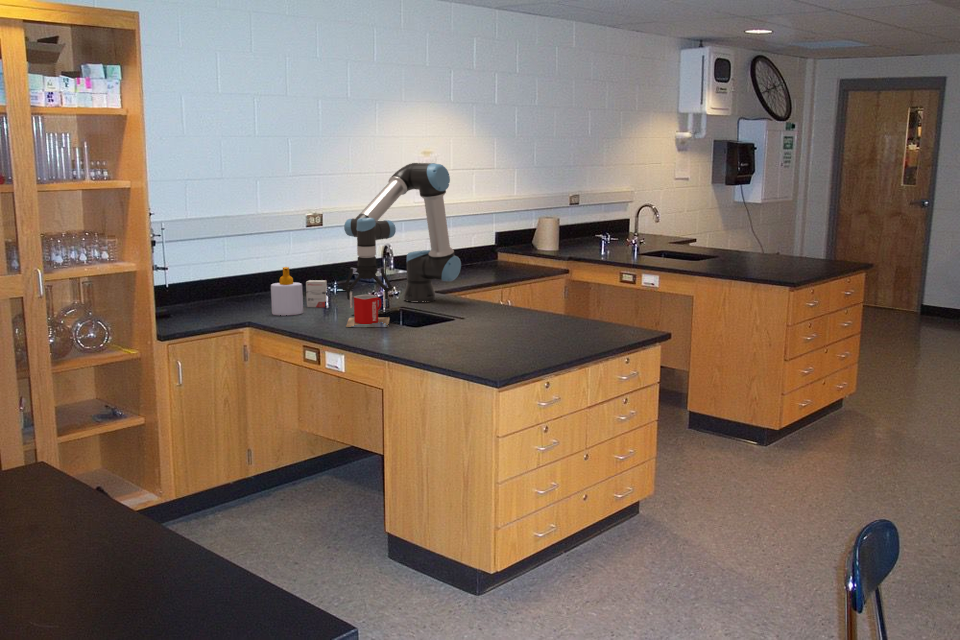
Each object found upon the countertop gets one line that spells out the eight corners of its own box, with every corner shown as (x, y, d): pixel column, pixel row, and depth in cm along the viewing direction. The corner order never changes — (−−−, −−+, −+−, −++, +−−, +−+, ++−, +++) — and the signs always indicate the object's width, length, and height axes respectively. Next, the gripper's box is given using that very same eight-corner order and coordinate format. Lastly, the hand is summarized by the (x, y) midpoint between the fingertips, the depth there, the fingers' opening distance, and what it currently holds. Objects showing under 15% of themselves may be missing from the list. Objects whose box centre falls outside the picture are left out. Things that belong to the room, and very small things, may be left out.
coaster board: (389, 318, 396) (389, 317, 396) (388, 327, 379) (388, 325, 379) (349, 319, 395) (349, 317, 395) (345, 327, 378) (345, 326, 378)
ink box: (328, 305, 424) (327, 280, 421) (325, 307, 419) (324, 281, 417) (309, 305, 425) (308, 279, 422) (306, 307, 420) (305, 281, 417)
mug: (364, 325, 380) (363, 299, 378) (352, 322, 386) (351, 296, 384) (387, 320, 388) (387, 295, 386) (375, 317, 394) (374, 293, 392)
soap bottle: (272, 316, 400) (269, 269, 396) (272, 312, 408) (270, 266, 404) (303, 315, 403) (301, 268, 399) (302, 311, 411) (301, 265, 407)
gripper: (397, 254, 386) (398, 305, 390) (336, 255, 384) (338, 305, 389) (397, 257, 378) (398, 308, 383) (335, 257, 377) (336, 309, 381)
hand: (367, 307), depth 386 cm, fingers open, 13 cm apart
